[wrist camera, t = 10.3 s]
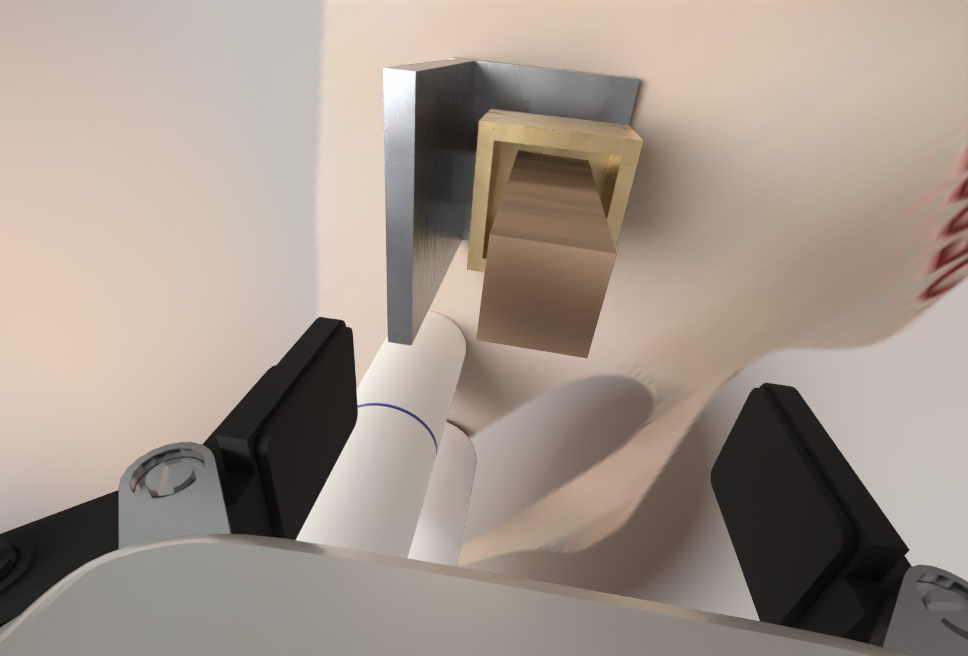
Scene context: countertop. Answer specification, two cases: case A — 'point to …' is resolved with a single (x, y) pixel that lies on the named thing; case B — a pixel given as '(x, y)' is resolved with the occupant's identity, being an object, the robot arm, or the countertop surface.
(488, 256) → the rail post
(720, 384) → the countertop surface
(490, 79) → the cup bracket
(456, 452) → the wine bottle
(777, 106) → the countertop surface
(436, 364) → the cylindrical container
